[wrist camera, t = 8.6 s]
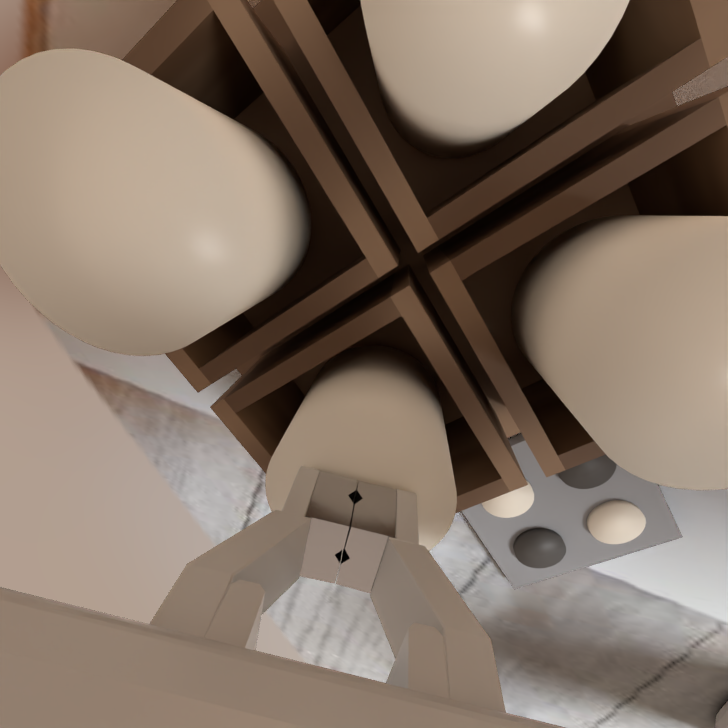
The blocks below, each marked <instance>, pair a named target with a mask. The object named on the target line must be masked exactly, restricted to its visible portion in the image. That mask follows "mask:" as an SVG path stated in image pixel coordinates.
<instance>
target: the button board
mask: <svg viewBox="0 0 728 728" xmlns="http://www.w3.org/2000/svg"><path fill="white" fill-rule="evenodd" d="M726 57H728V0H630V1H629V3H628V5H627V8H626V10H625V12H624V14H623V17H622V18H621V20H620V22H619V24H618V26H617V27H616V29H615V31H614V33H613V35H612V37H611V38H610V40H609V41H608V43H607V44H606V45H605V47H604V48H603V50H602V51H601V53H600V54H599V56H598V57H597V58H596V59H595V61H594V62H593V63H592V64H591V65H590V66H589V68H588V69H587V70H586V71H585V72H584V74H582V75H581V76H580V77H579V78H578V79H577V80H576V81H575V82H574V83H573V84H572V85H571V86H570V87H569V88H568V89H567V90H565V91H564V92H563V93H561V94H560V95H559V96H558V97H556V98H555V99H554V100H552V101H551V102H550V103H549V104H547V105H546V106H545V107H543V108H542V109H541V110H540V111H538V112H537V113H536V114H534V115H533V116H532V117H531V118H529V119H528V120H527V121H525V122H524V123H523V124H522V125H520V126H519V127H518V128H516V129H515V130H514V131H513V132H511V133H510V134H509V135H507V136H506V137H505V138H504V139H502V140H501V141H500V142H498V143H497V144H496V145H494V146H492V147H490V148H489V149H487V150H485V151H483V152H480V153H478V154H475V155H472V156H468V157H463V158H440V157H435V156H432V155H429V154H426V153H424V152H422V151H420V150H418V149H416V148H415V147H414V146H412V145H411V144H409V143H408V142H407V141H406V140H405V139H404V138H403V137H402V136H401V135H400V134H399V132H398V131H397V130H396V129H395V127H394V126H393V124H392V122H391V121H390V119H389V117H388V115H387V113H386V110H385V108H384V105H383V102H382V98H381V94H380V90H379V85H378V81H377V76H376V72H375V67H374V63H373V59H372V54H371V50H370V45H369V41H368V36H367V32H366V27H365V23H364V18H363V13H362V8H361V1H360V0H261V1H260V2H259V3H258V4H257V5H256V6H255V7H254V8H252V7H251V5H250V4H249V3H248V1H247V0H177V1H176V2H175V3H174V4H173V5H172V6H171V7H170V9H169V10H168V11H167V12H166V13H165V14H164V15H163V16H162V17H161V18H160V19H159V21H158V22H157V23H156V24H155V25H154V26H153V27H152V28H151V29H150V30H149V31H148V32H147V34H146V35H145V36H144V37H143V38H142V39H141V40H140V41H139V42H138V43H137V44H136V46H135V47H134V48H133V49H132V50H131V51H130V52H129V53H128V54H127V55H126V56H125V58H124V59H123V60H122V61H124V62H126V63H129V64H131V65H133V66H135V67H137V68H139V69H141V70H143V71H144V72H146V73H148V74H150V75H152V76H154V77H155V78H157V79H159V80H161V81H163V82H165V83H167V84H168V85H170V86H172V87H174V88H176V89H178V90H180V91H181V92H183V93H185V94H187V95H189V96H191V97H193V98H194V99H196V100H198V101H200V102H202V103H204V104H206V105H207V106H209V107H211V108H213V109H215V110H217V111H219V112H220V113H222V114H224V115H226V116H228V117H230V118H231V119H233V120H235V121H237V122H239V123H241V124H243V125H244V126H246V127H248V128H250V129H252V130H254V131H256V132H257V133H259V134H261V135H262V136H264V137H265V138H267V139H268V140H270V141H271V142H272V143H273V144H274V145H276V146H277V147H278V148H279V149H280V150H281V151H282V152H283V154H284V155H285V156H286V157H287V158H288V159H289V161H290V162H291V164H292V165H293V166H294V168H295V170H296V171H297V173H298V175H299V177H300V179H301V181H302V183H303V186H304V188H305V191H306V194H307V198H308V201H309V206H310V213H311V236H310V242H309V247H308V251H307V254H306V256H305V259H304V261H303V263H302V265H301V267H300V269H299V270H298V272H297V273H296V275H295V276H294V278H293V279H292V280H291V281H290V282H289V283H288V284H287V285H286V286H284V287H283V288H282V289H281V290H279V291H278V292H276V293H274V294H273V295H271V296H269V297H268V298H266V299H264V300H263V301H261V302H259V303H258V304H256V305H254V306H253V307H251V308H249V309H248V310H246V311H244V312H243V313H241V314H239V315H238V316H236V317H235V318H233V319H231V320H230V321H228V322H226V323H225V324H223V325H221V326H220V327H218V328H216V329H215V330H213V331H211V332H210V333H208V334H206V335H205V336H203V337H201V338H200V339H198V340H196V341H195V342H193V343H191V344H189V345H188V346H186V347H183V348H181V349H178V350H176V351H173V352H169V353H165V354H166V355H167V357H168V358H169V359H170V360H171V361H172V363H173V364H174V365H175V366H176V367H177V368H178V370H179V371H180V372H181V373H182V374H183V376H184V377H185V378H186V379H187V380H188V382H189V383H190V384H191V385H192V386H193V387H194V389H195V390H196V391H197V392H200V391H201V390H203V389H204V388H206V387H208V386H209V385H211V384H212V383H214V382H215V381H217V380H219V379H220V378H222V377H223V376H225V375H226V374H228V373H230V372H231V371H233V370H234V369H237V370H238V371H239V372H240V374H241V375H242V376H241V377H240V378H239V379H238V380H237V381H236V382H235V383H234V384H233V385H232V386H231V387H230V388H229V389H228V390H227V391H226V392H225V393H224V394H223V395H222V396H221V397H220V398H219V399H218V400H217V401H216V402H215V403H214V404H213V405H212V406H211V407H210V408H211V409H212V410H213V411H214V412H215V414H216V415H217V416H218V417H219V418H220V420H221V421H222V422H223V423H224V424H225V425H226V427H227V428H228V429H229V430H230V431H231V433H232V434H233V435H234V436H235V437H236V439H237V440H238V441H239V442H240V443H241V444H242V446H243V447H244V448H245V449H246V450H247V452H248V453H249V454H250V455H251V456H252V458H253V459H254V460H255V461H256V462H257V463H258V465H259V466H260V467H261V468H262V469H263V471H264V472H265V473H267V469H268V465H269V463H270V460H271V458H272V456H273V454H274V452H275V450H276V448H277V447H278V445H279V443H280V441H281V439H282V438H283V436H284V434H285V432H286V430H287V429H288V427H289V425H290V423H291V421H292V420H293V418H294V416H295V414H296V412H297V411H298V409H299V407H300V405H301V403H302V402H303V400H304V398H305V396H306V394H307V393H308V391H309V389H310V387H311V386H312V384H313V382H314V380H315V378H316V377H317V375H318V373H319V372H320V370H321V369H322V368H323V367H324V365H325V364H326V363H327V362H328V361H330V360H331V359H332V358H333V357H335V356H336V355H338V354H340V353H342V352H344V351H346V350H349V349H352V348H355V347H360V346H368V345H377V346H385V347H390V348H394V349H397V350H400V351H402V352H404V353H406V354H408V355H410V356H411V357H413V358H415V359H416V360H417V361H418V362H420V363H421V364H422V365H423V366H424V367H425V368H426V369H427V371H428V372H429V373H430V375H431V376H432V378H433V379H434V381H435V383H436V386H437V388H438V391H439V396H440V401H441V407H442V412H443V418H444V424H445V429H446V435H447V441H448V446H449V452H450V458H451V463H452V469H453V475H454V480H455V486H456V492H457V505H456V513H457V512H460V511H463V510H465V509H468V508H470V507H473V506H475V505H478V504H480V503H483V502H486V501H488V500H491V499H493V498H496V497H498V496H501V495H503V494H506V493H508V492H511V491H514V490H516V489H519V488H521V487H524V486H526V485H528V483H527V481H526V479H525V477H524V474H523V472H522V470H521V468H520V465H519V463H518V461H517V459H516V456H515V454H514V452H513V450H512V447H511V445H510V443H509V441H508V438H509V437H511V436H513V435H516V434H518V433H520V432H521V434H522V436H523V437H524V439H525V441H526V443H527V444H528V446H529V448H530V450H531V451H532V453H533V455H534V457H535V458H536V460H537V462H538V463H539V465H540V467H541V469H542V470H543V472H544V474H545V476H546V477H549V476H552V475H554V474H557V473H560V472H562V471H565V470H567V469H570V468H572V467H575V466H577V465H580V464H583V463H585V462H588V461H590V460H593V459H595V458H598V457H600V456H603V455H605V453H604V452H603V450H602V449H601V448H600V447H599V446H598V445H597V443H596V442H595V441H594V440H593V438H592V437H591V436H590V435H589V434H588V432H587V431H586V430H585V429H584V428H583V426H582V425H581V424H580V423H579V421H578V420H577V419H576V418H575V417H574V415H573V414H572V413H571V412H570V411H569V409H568V408H567V407H566V406H565V404H564V403H563V402H562V401H561V400H560V398H559V397H558V396H557V395H556V394H555V392H554V391H553V390H552V389H551V387H550V386H549V385H548V384H547V383H546V381H545V380H544V379H543V378H542V376H541V375H540V374H539V373H538V372H537V370H536V369H535V368H534V367H533V366H532V364H531V363H530V362H529V361H528V359H527V358H526V357H525V356H524V354H523V353H522V351H521V350H520V348H519V346H518V344H517V342H516V339H515V336H514V333H513V329H512V321H511V312H512V303H513V297H514V294H515V291H516V287H517V285H518V283H519V281H520V278H521V276H522V274H523V273H524V271H525V269H526V268H527V266H528V265H529V263H530V262H531V261H532V259H533V258H534V257H535V256H536V255H537V254H538V253H539V251H540V250H541V249H542V248H543V247H544V246H546V245H547V244H548V243H549V242H550V241H552V240H553V239H554V238H555V237H557V236H558V235H560V234H561V233H563V232H564V231H566V230H568V229H570V228H572V227H574V226H576V225H578V224H581V223H583V222H586V221H589V220H592V219H596V218H600V217H605V216H614V215H652V216H728V86H727V87H725V88H722V89H720V90H717V91H715V92H712V93H710V94H707V95H705V96H702V97H700V98H697V99H695V100H692V101H689V102H687V103H684V104H682V105H679V106H677V105H676V102H675V99H674V96H673V93H672V92H673V91H674V90H676V89H678V88H679V87H681V86H682V85H684V84H685V83H687V82H689V81H690V80H692V79H693V78H695V77H696V76H698V75H700V74H701V73H703V72H704V71H706V70H708V69H709V68H711V67H712V66H714V65H715V64H717V63H719V62H720V61H722V60H723V59H725V58H726Z"/></svg>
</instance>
